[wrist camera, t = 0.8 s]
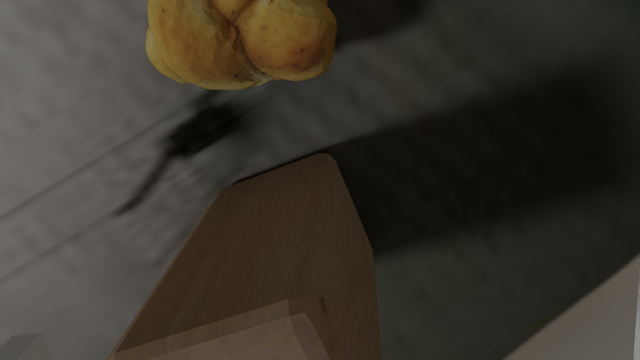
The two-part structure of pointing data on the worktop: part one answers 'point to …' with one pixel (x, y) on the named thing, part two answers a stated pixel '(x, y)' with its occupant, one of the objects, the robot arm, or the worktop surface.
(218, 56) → the bread roll
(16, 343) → the robot arm
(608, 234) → the worktop surface
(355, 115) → the worktop surface
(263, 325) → the wooden block
